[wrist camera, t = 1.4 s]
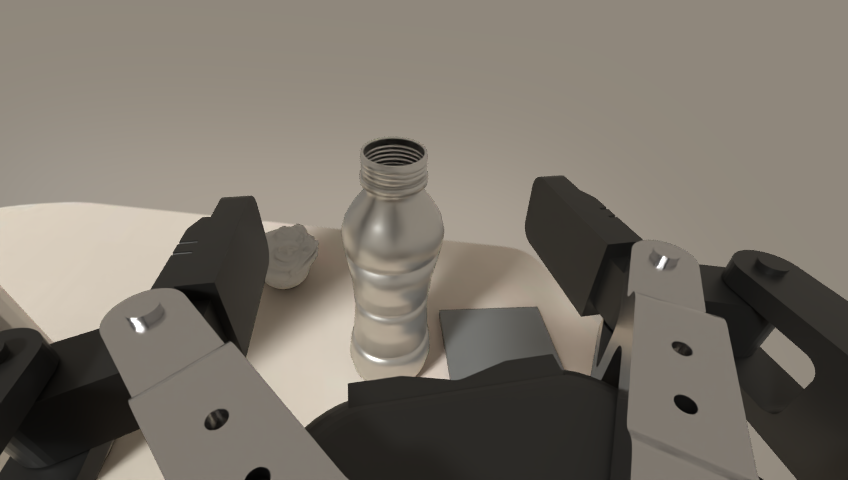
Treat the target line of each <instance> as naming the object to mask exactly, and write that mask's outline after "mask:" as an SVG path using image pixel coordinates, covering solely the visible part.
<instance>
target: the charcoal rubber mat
mask: <svg viewBox="0 0 848 480" xmlns="http://www.w3.org/2000/svg"><path fill="white" fill-rule="evenodd" d="M439 316H440V322H441V328H442V334H443V340H444V346H445V352H446V358H447V364H448V370H449V376H450V380H459V379H463V378H465V377H468V376H470V375H472V374H475V373H477V372H480V371H482V370H484V369H487V368H489V367H491V366H494V365H496V364H499V363H501V362H503V361H506V360H513V359H520V358H527V357H534V356H541V355H548V354H553V356H554V357H555V359H556V361H557V363H558V364H559V366H560V368H561V370H564V368H563V366H562V364H561V361H560V359H559V357H558V354H557V352H556V350H555V347H554V345H553V343H552V340H551V338H550V336H549V333H548V331H547V329H546V326H545V324H544V322H543V319H542V317H541V315H540V312H539V310H538V308H537V307H516V308H488V309H461V310H440V312H439Z"/></svg>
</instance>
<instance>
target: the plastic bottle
mask: <svg viewBox="0 0 848 480" xmlns="http://www.w3.org/2000/svg"><path fill="white" fill-rule="evenodd" d="M427 159H428V155H427V149H426V148H425V146H423V145H422V144H421V143H419V142H417V141H415V140H412V139H409V138H403V137H383V138H377V139H374V140H371V141H369V142H367V143H366V144H365V145H364V146H363V147H362V148H361V153H360V160H361V170H360V174H359V175H360V183H361V186H362V187H363V188H364V189H363V190H362V191H361V192H360V193H359V195H357V197H356V198H355V199H354V201H353V202H352V204H351V205H350V207H349V208H348V210H347V212H346V214H345V217H344V221H343V224H342V229H341V235H342V240H343V247H344V250H345V255H346V258H347V262H348V266H349V269H350V273H351V277H352V282H353V289H354V297H355V320H354V327H353V331H352V336H351V344H350V353H351V358H352V360H353V363H354V365H355V368H356V370H357V372H358V373H359V375H360V376H361V377H362V378H363V379H364V380H365V381H369V380H376V379H382V378H389V377H396V376H411V377H415V376H416V375H417V374H418V373H419V372H420V370H421V369H422V367H423V365H424V363H425V360H426V358H427V355H428V352H429V346H430V344H429V331H428V325H427V298H428V292H429V287H430V282H431V277H432V274H433V271H434V268H435V265H436V261H437V258H438V255H439V252H440V249H441V245H442V241H443V236H444V226H443V222H442V217H441V213H440V211H439V209H438V207H437V206H436V204H435V203H434V201H433V199H432V198H431V197H430V196H429V194H428V193H427V192H426V191H425V189H424V188H425V187H426V185H427V182H428V171H427Z"/></svg>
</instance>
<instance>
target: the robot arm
mask: <svg viewBox="0 0 848 480" xmlns="http://www.w3.org/2000/svg"><path fill="white" fill-rule="evenodd" d="M525 232H526V236H527V239H528V241H529V243H530V244H531V246H532V247H533V248H534V250H535V251H536V253H537V254H538V255H539V257H540V258H541V260H542V261H543V263H544V264H545V266H546V267H547V268H548V270H549V271H550V273H551V274H552V276H553V277H554V278H555V280H556V281H557V283H558V284H559V286H560V287H561V288H562V290H563V291H564V293H565V294H566V296H567V297H568V299H569V300H570V301H571V303H572V304H573V306H574V307H575V309H576V310H577V311H578V313H579V314H580V316H581V317H582V316H590V315H598V314H600V315H601V316H602V317H603V319H602V321H601V323H600V326H599V330H598V335H597V341H596V347H595V353H594V359H593V365H592V371H591V376H588V375H584V374H581V373H578V372H573V371H568V370H561V368H560V366H559V364H558V363H557V361H556V359H555V357H554V356H553V354H548V355H541V356H534V357H527V358H520V359H513V360H506V361H503V362H501V363H499V364H496V365H494V366H491V367H489V368H487V369H484V370H482V371H480V372H477V373H475V374H472V375H470V376H468V377H465V378H463V379H459V380H447V379H435V378H423V377H411V376H396V377H389V378H382V379H376V380H369V381H362V382H355V383H348V401H346V402H344V403H342V404H339V405H337V406H335V407H333V408H332V409H330V410H328V411H326V412H325V413H323V414H322V415H320V416H319V417H317V418H316V419H314V420H313V421H312V422H311V423H310V424H309V425H307V426H306V427H305V428H304V427H303V426H302V425H301V423H300V422H299V421H298V420H297V419H296V417H295V416H294V415H293V414H292V413H291V411H290V410H289V409H288V408H287V407H286V405H285V404H284V403H283V402H282V401H281V399H280V398H279V397H278V396H277V395H276V394H275V392H274V391H273V390H272V389H271V388H270V386H269V385H268V384H267V383H266V382H265V380H264V379H263V378H262V377H261V376H260V374H259V373H258V372H257V371H256V370H255V368H254V367H253V366H252V365H251V364H250V362H249V361H248V360H247V359H246V355H247V351H248V347H249V343H250V339H251V335H252V331H253V327H254V323H255V319H256V315H257V311H258V307H259V303H260V299H261V294H262V290H263V286H264V282H265V278H266V274H267V270H268V266H269V248H268V243H267V239H266V235H265V232H264V228H263V224H262V221H261V217H260V213H259V210H258V206H257V203H256V201H255V198H254V197H253V196H240V197H224V198H221V199H220V201H219V203H218V205H217V206H216V208H215V210H214V212H213V214H212V216H211V217H202V218H201V219H200V220H198V221H197V222H196V223H194V224H193V225H192V226H190V227H189V228H188V229H187V230H186V232H185V233H184V235H183V237H182V238H181V240H180V242H179V243H180V244H178V245H177V247H176V248H175V250H174V251H173V255H171V256H170V258H169V260H168V261H167V263H166V265H165V266H164V268H163V270H162V271H161V273H160V275H159V276H158V278H157V280H156V281H155V283H154V285H153V286H152V288H151V290H148V291H144V292H141V293H138V294H136V295H133V296H131V297H129V298H127V299H125V300H124V301H122V302H120V303H119V304H118V305H116V306H115V307H113V308H112V309H111V310H110V311H109V312H108V313H107V314H106V315H105V317H104V318H103V320H102V321H101V324H100V328H99V329H96V330H93V331H90V332H87V333H84V334H80V335H77V336H74V337H71V338H67V339H64V340H61V341H58V342H53V341H52V340H51V339H50V338H49V337H48V336H47V335H46V334H45V333H44V332H43V331H42V330H41V328H40V327H39V326H38V325H37V324H36V323H35V322H34V321H33V320H32V319H31V318H30V317H29V316H28V315H27V313H26V312H25V311H24V310H23V309H22V308H21V307H20V306H19V305H18V304H17V303H16V302H15V301H14V300H13V299H12V297H11V296H10V295H9V294H8V293H7V292H6V291H5V290H4V289H3V288H2V287H1V286H0V480H96V479H97V476H98V474H99V472H100V469H101V467H102V465H103V462H104V460H105V458H106V457H107V455H108V453H109V452H110V449H111V447H112V444H113V442H114V439H116V438H119V437H121V436H123V435H126V434H128V433H131V432H133V431H136V430H138V429H141V431H142V433H143V435H144V437H145V439H146V441H147V443H148V445H149V447H150V450H151V452H152V454H153V456H154V458H155V460H156V462H157V464H158V466H159V468H160V470H161V472H162V474H163V477H164V479H165V480H763V479H762V478H760V477H758V475H757V471H756V466H755V461H754V456H753V451H752V446H751V441H750V436H749V431H748V426H747V421H748V422H749V423H750V424H751V426H752V427H753V428H754V429H755V430H756V431H757V433H758V434H759V435H760V436H761V437H762V439H763V440H764V441H765V442H766V443H767V444H768V446H769V447H770V448H771V449H772V450H773V452H774V453H775V454H776V455H777V456H778V457H779V459H780V460H781V461H782V462H783V463H784V465H785V466H786V467H787V468H788V469H789V470H790V472H791V473H792V474H793V475H794V476H795V478H796V479H797V480H848V301H847V300H845V299H844V298H842V297H841V296H840V295H838V294H836V293H835V292H834V291H832V290H831V289H829V288H828V287H826V286H825V285H823V284H822V283H820V282H819V281H817V280H816V279H815V278H813V277H812V276H810V275H809V274H807V273H806V272H804V271H803V270H801V269H800V268H799V267H797V266H795V265H794V264H792V263H790V262H789V261H787V260H785V259H782V258H780V257H777V256H775V255H772V254H769V253H765V252H760V251H754V250H743V251H738V252H736V253H735V254H734V255H733V256H732V258H731V260H730V261H729V263H728V265H727V266H726V267H717V266H708V265H699V264H698V262H697V260H696V259H695V258H694V257H693V256H692V255H691V254H690V253H688V252H687V251H685V250H684V249H682V248H680V247H678V246H676V245H673V244H670V243H667V242H663V241H658V240H642V239H641V238H640V237H639V236H638V235H637V234H636V233H635V232H633V231H632V230H631V229H630V228H629V227H628V226H627V225H626V224H624V223H623V222H622V221H621V220H620V219H619V218H617V217H615V215H614V214H613V213H612V212H611V211H610V210H609V209H606V207H605V206H604V205H603V204H602V203H601V202H600V201H598V200H597V199H596V198H594V197H593V196H591V195H589V194H586V193H585V192H582V191H580V190H579V189H578V188H577V187H576V186H575V185H573V184H572V183H571V182H570V181H569V180H568V179H567V178H566V177H564V176H547V177H538V178H536V179H535V181H534V183H533V187H532V191H531V197H530V201H529V206H528V211H527V216H526V221H525ZM775 327H776V328H777V329H778V330H779V331H780V332H782V333H783V334H784V335H785V336H786V337H787V338H788V339H789V340H791V341H792V342H793V343H794V344H795V345H796V346H798V347H799V348H800V349H801V350H802V351H803V352H804V353H806V354H807V355H808V356H809V358H810V359H811V361H812V362H813V364H814V367H815V377H814V380H813V381H812V382H811V383H810V384H809V385H808V386H807V387H806V388H805V389H803V388H802V387H801V386H800V385H799V384H798V383H797V382H796V381H795V380H794V379H793V378H792V377H791V376H790V375H789V374H788V373H787V372H786V371H785V370H783V369H782V368H781V367H780V366H779V365H778V364H777V363H776V362H775V361H774V360H773V359H772V358H771V357H770V356H769V355H768V354H767V353H766V352H765V351H764V350H763V349H762V348H761V347H760V345H761V344H762V343H763V341H764V340H765V339H766V338H767V337H768V336H769V334H770V333H771V332H772V331H773V329H774V328H775ZM746 420H747V421H746Z"/></svg>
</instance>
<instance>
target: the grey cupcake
mask: <svg viewBox="0 0 848 480" xmlns="http://www.w3.org/2000/svg"><path fill="white" fill-rule="evenodd" d="M265 235H266V239H267V243H268V248H269V266H268V270H267V274H266V278H265V282H266V283H267V284H268V285H270V286H272V287H274V288H278V289H289V288H292V287H295V286H297V285H299V284H300V283H301V282H302V281H303V280H304V279H305V278H306V277H307V275H308V273H309V270H310V265H311V264H312V263H313V261H314V260H315V259H316V257H317V255H318V244H319V242H318V241H317V240H315V238H314V237H313V236H311V235H309V234H308V233H307V230H306V228H305V227H304V226H303V225H300V224H296V225H294V226H292V227H286V226H282V227H280V228H279V229H276V230H273V231H270V232H268V233H265Z"/></svg>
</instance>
